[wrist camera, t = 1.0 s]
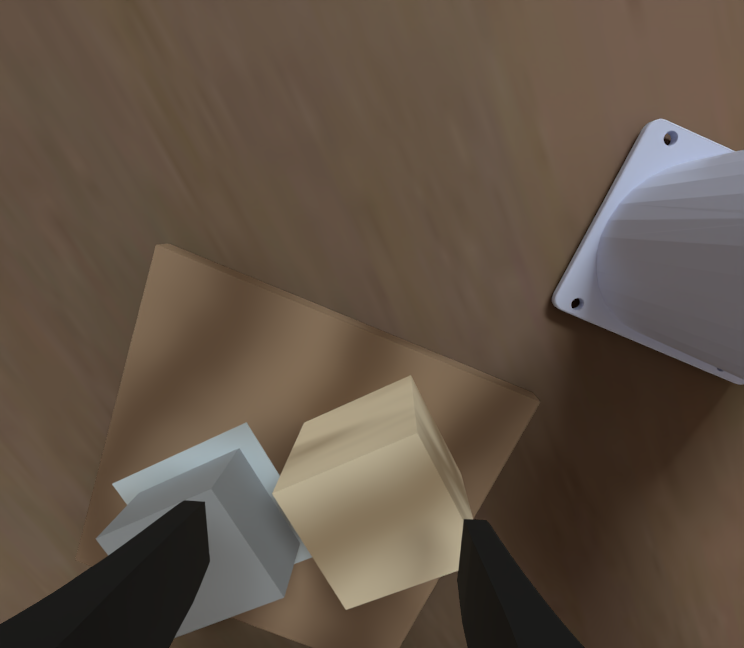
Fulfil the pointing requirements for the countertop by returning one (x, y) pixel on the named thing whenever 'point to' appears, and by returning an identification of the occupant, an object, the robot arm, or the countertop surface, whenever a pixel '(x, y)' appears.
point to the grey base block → (221, 537)
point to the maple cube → (375, 495)
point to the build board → (279, 417)
